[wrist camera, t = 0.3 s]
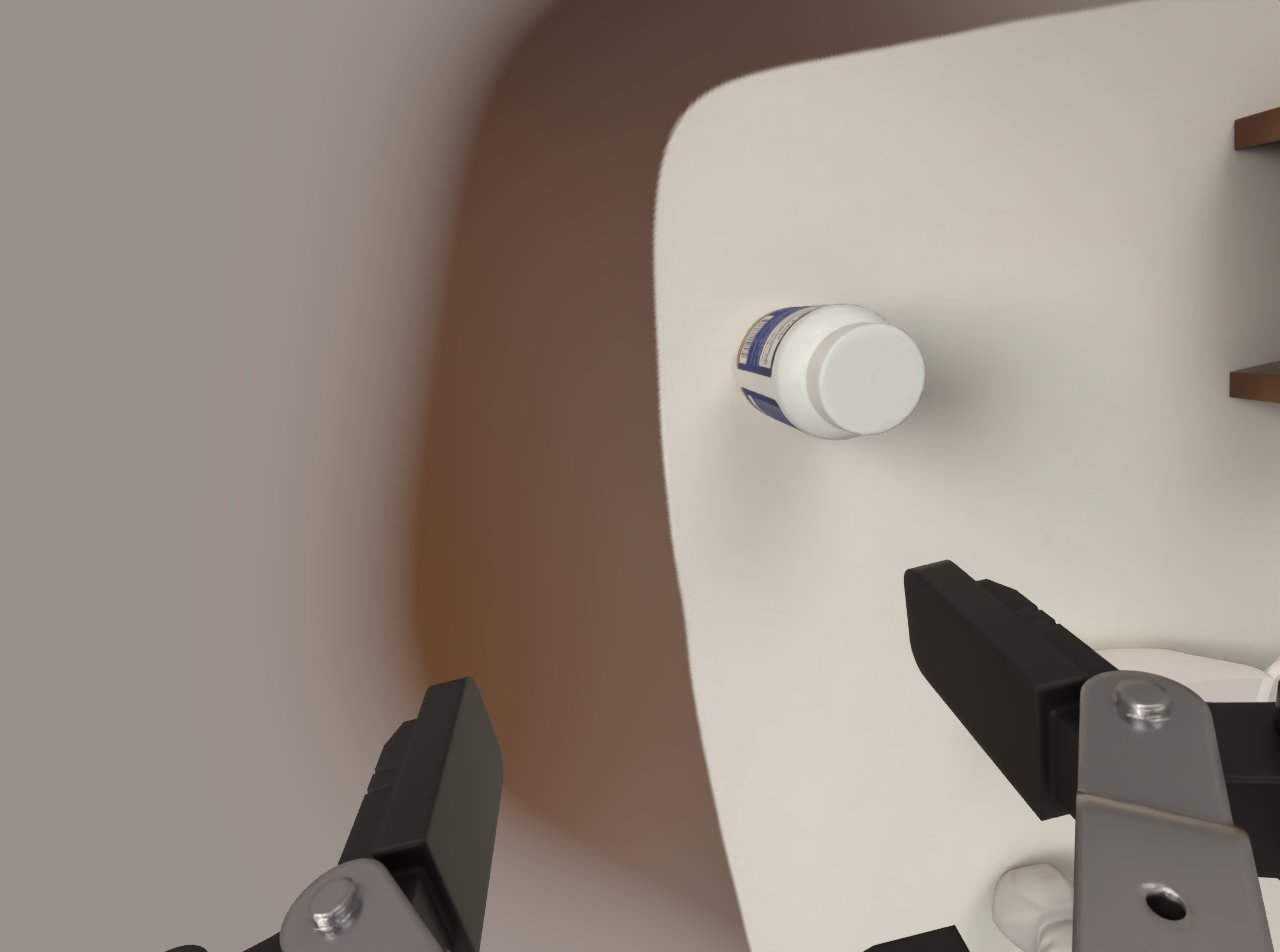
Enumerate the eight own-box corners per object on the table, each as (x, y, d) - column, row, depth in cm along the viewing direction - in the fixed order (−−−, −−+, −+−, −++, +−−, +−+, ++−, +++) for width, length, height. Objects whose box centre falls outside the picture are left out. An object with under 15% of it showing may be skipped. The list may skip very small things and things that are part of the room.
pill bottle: (846, 398, 34) (956, 429, 24) (746, 429, 34) (818, 473, 24) (824, 293, 33) (932, 282, 23) (720, 324, 32) (786, 327, 23)
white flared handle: (996, 617, 38) (1045, 651, 34) (1269, 629, 40) (1344, 661, 36) (976, 704, 39) (1021, 746, 35) (1243, 710, 42) (1313, 749, 38)
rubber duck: (976, 854, 42) (1071, 976, 34) (1074, 838, 42) (1190, 954, 35) (973, 924, 43) (1063, 1057, 35) (1068, 907, 44) (1178, 1034, 36)
